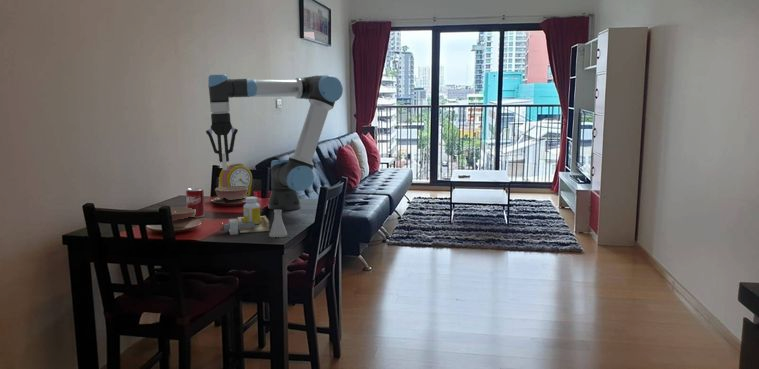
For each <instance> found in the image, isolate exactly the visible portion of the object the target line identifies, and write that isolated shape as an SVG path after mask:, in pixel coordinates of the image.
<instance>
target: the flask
mask: <svg viewBox="0 0 759 369" xmlns="http://www.w3.org/2000/svg"><path fill="white" fill-rule="evenodd" d="M282 212H283V211H282V210H273V213H274V215H273V221H272V224H271V227H270V229H269V230H270V231H269V233H268V236H269V237H270V238H275V237H277V238H278V237H279V238H286V237H287V236H289V233H288V232H287V229H286V225H285V224H284V220H283V217H282ZM279 238H278V239H279Z"/></svg>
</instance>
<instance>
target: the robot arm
mask: <svg viewBox="0 0 759 369" xmlns="http://www.w3.org/2000/svg"><path fill="white" fill-rule="evenodd" d="M207 79H208V81H207V82H208V92H209V94H208V95H209V105H210V106H209V107H210V112H211V115H210V120H211V125H210V128H209V129H207V130H205V133H206V135H208V138H209V141H210V144H211V147H212V150H213V152H214V154H217V155H218V159H219V162H220V163H222V169H223V170H227V165H228V164H227V163H228V162H229V161H230V157H229V154H230V153H233V152H234V146H235V140H236V134H238V131H239V130H238V129H237V128H235V127H234V126H233V124H232V123H231V113H230V111H231V110H230V98H252V97H256V98H258V97H260V98H262V97H264V98H265V97H268V98H270V97H274V98H275V97H276V98H277V97H280V98H281V97H283V98H284V97H285V98H286V97H295V99H300V100H301V99H302V100H308V102H309V108H308V111H307V113H306V117H305V121H304V123H303V126H302V128H301V129H302V130H301V132H300V135H299V139H298V141H297V144H296V148H295V150H294V153H293V155H290V156H289V157H288V158H287V159H274V160H271V163H270V176H271V177H270V178H271V180H270V181H271V182H270V183H271V193H270V195H269V200H268V203H267V206H268V210H272V211H274V210H282V212H283V211H294V210H298V209H301V207H302V206H301V199H300V198H299V195H298V192H304V191H306V190H308V189H309V188H310V187H311V186H312V185H313V183H314V180H315V175H314V172H313V170H314V166H315V164H314V162H313V160H314V156H315V153H316V149H317V147H318V144H319V141H320V137H321V135H322V133H323V132H322V131H323V128H324V126H325V123H326V120H327V117H328V114H329V111H331V110H333V109H334V106H335V104H336V102H337V101H338V100H340V99H341V97H342V95H343V91H344V87H343V84H342V81H341V80H340V79H339V78H338V77H336V76H334V75H332V74H331V75H330V74H324V75H312V76H307V77H306V76H305V77H296V78H295V79H254V78H237V79H236V78H233V79H231V78H228V75H227V74H226V73H225V74H224V73H223V74H222V73H221V74H209V76H208V78H207ZM230 132H231V139H230V143H229V142H228V135H229V133H230ZM213 133H214V134H215V135H216V137H217V146H216V143H215V140H214V138H213V135H212V134H213ZM222 136H223V145H224V146H223V147H224V153H223V148H222ZM217 148H218V149H217Z"/></svg>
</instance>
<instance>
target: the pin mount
mask: <svg viewBox="0 0 759 369" xmlns="http://www.w3.org/2000/svg"><path fill="white" fill-rule="evenodd" d="M228 224H230V229H228V231H229V235H231V236H232V235H239V229H238V219H237V218H230V219H228Z"/></svg>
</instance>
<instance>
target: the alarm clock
mask: <svg viewBox="0 0 759 369" xmlns="http://www.w3.org/2000/svg"><path fill="white" fill-rule="evenodd" d="M252 174H253V173H252V172H251V170H250V168H249V167H247V166H245V165H244V163H240V162H233V163H230V164H227V170H223V168H222V169H221V170H220V173H219V177H218V180H219V181H218V183H219V187H228V186H230V187H231V186H246V187H248V194H247V196H250V197H251V193H252V185H253V175H252Z"/></svg>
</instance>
